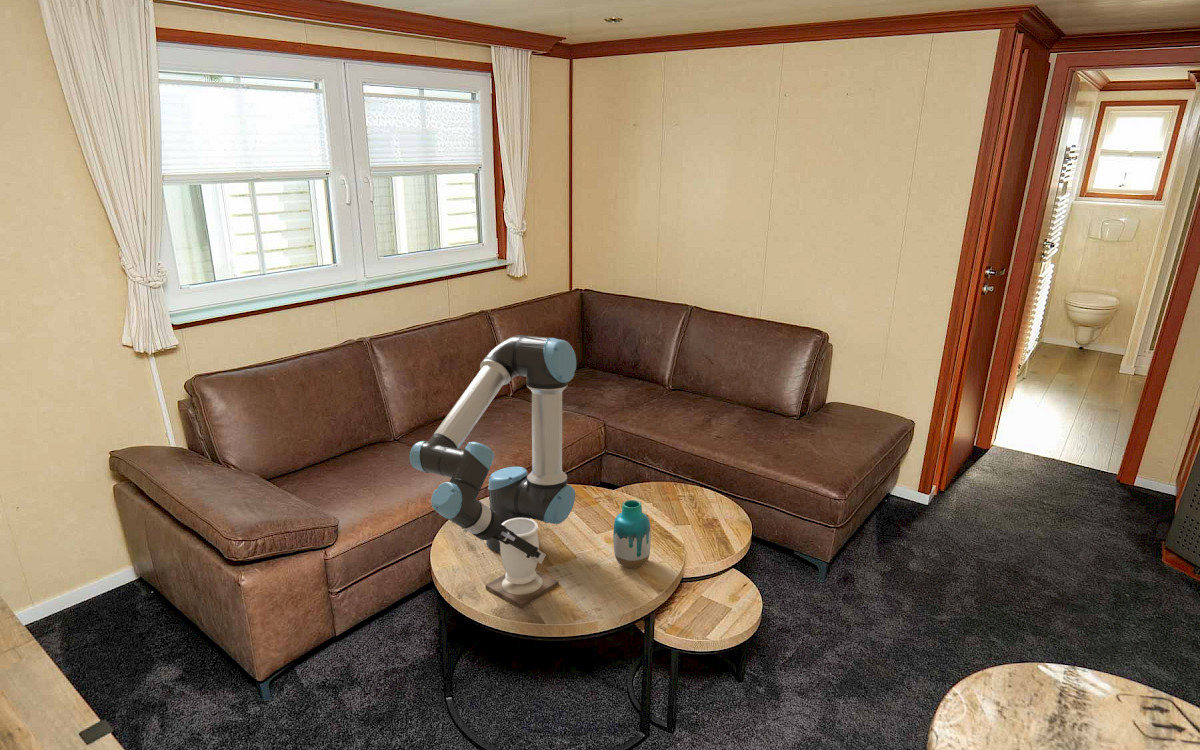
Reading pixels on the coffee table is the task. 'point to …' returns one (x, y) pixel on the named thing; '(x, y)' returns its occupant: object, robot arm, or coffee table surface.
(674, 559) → the coffee table surface
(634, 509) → the vase
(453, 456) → the robot arm
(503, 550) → the jar
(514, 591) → the walnut board
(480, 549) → the coffee table surface
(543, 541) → the coffee table surface
